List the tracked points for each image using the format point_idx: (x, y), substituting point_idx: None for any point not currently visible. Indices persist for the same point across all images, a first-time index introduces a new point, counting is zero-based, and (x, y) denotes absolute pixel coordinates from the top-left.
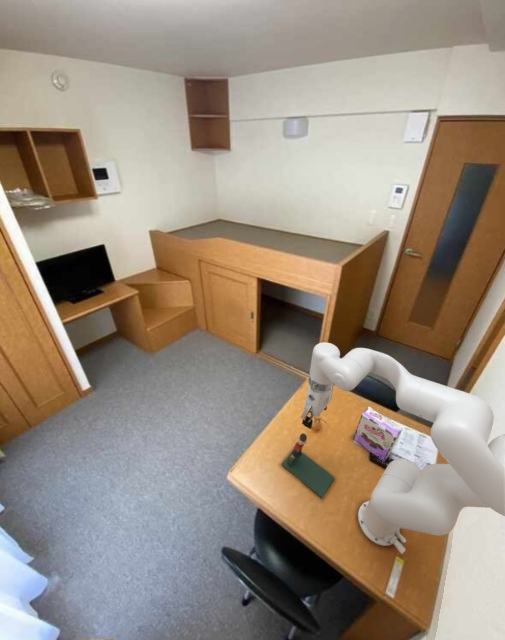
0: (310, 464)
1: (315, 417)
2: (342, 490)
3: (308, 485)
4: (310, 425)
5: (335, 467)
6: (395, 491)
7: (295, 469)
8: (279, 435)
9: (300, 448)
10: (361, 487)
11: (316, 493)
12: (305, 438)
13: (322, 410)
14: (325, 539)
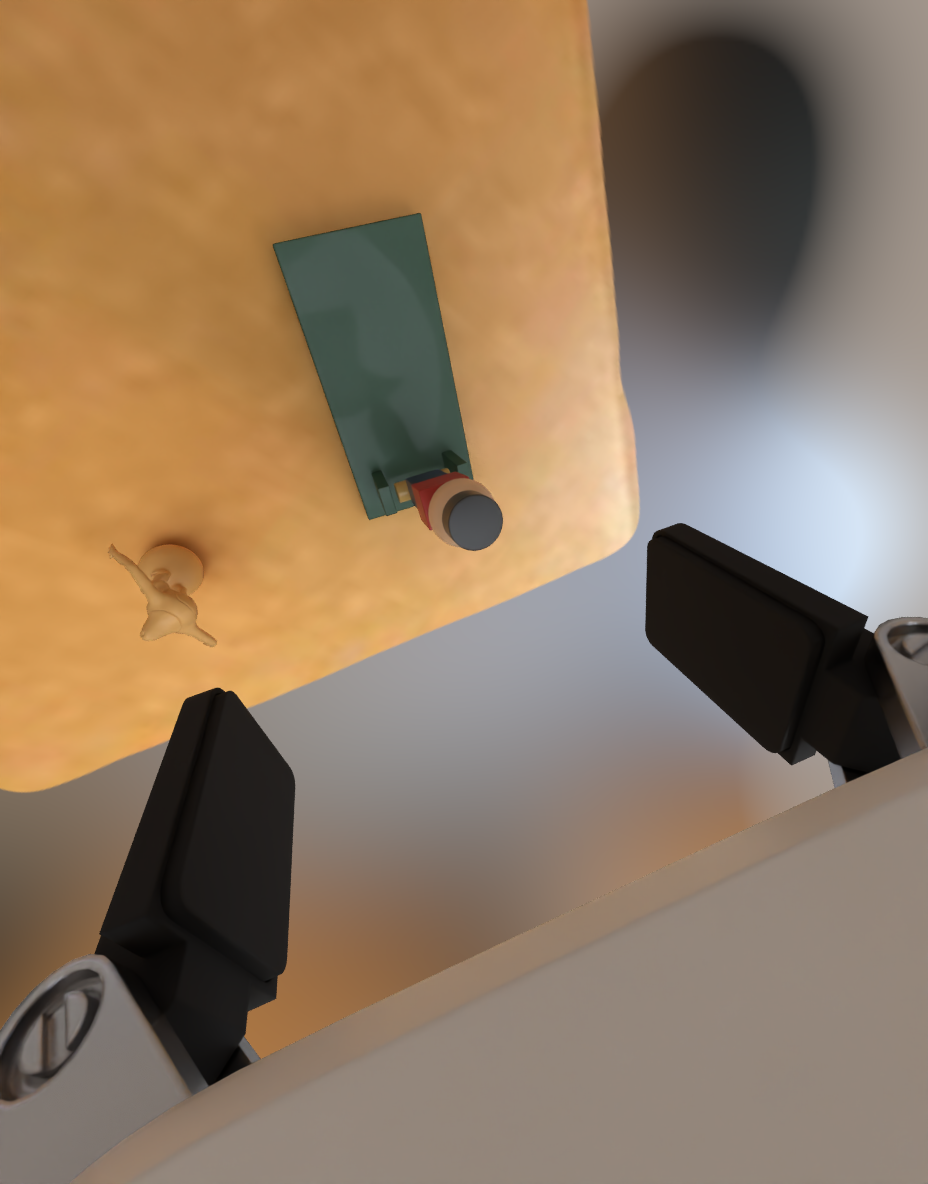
0: (357, 403)
1: (194, 614)
2: (267, 147)
3: (440, 319)
4: (740, 563)
5: (215, 299)
6: None
7: (442, 428)
8: (391, 601)
9: (466, 476)
10: (107, 37)
11: (427, 256)
12: (473, 502)
13: (920, 921)
14: (543, 22)
